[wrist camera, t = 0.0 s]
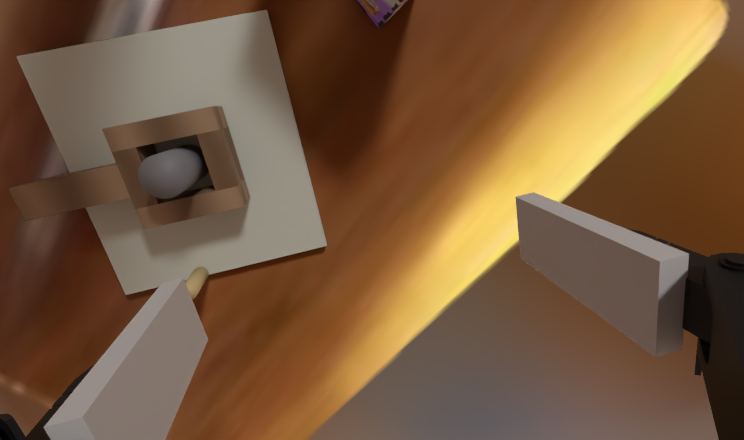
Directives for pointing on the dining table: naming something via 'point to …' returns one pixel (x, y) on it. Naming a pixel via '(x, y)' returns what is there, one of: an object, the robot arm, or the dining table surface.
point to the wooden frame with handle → (122, 176)
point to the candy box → (381, 9)
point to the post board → (185, 143)
